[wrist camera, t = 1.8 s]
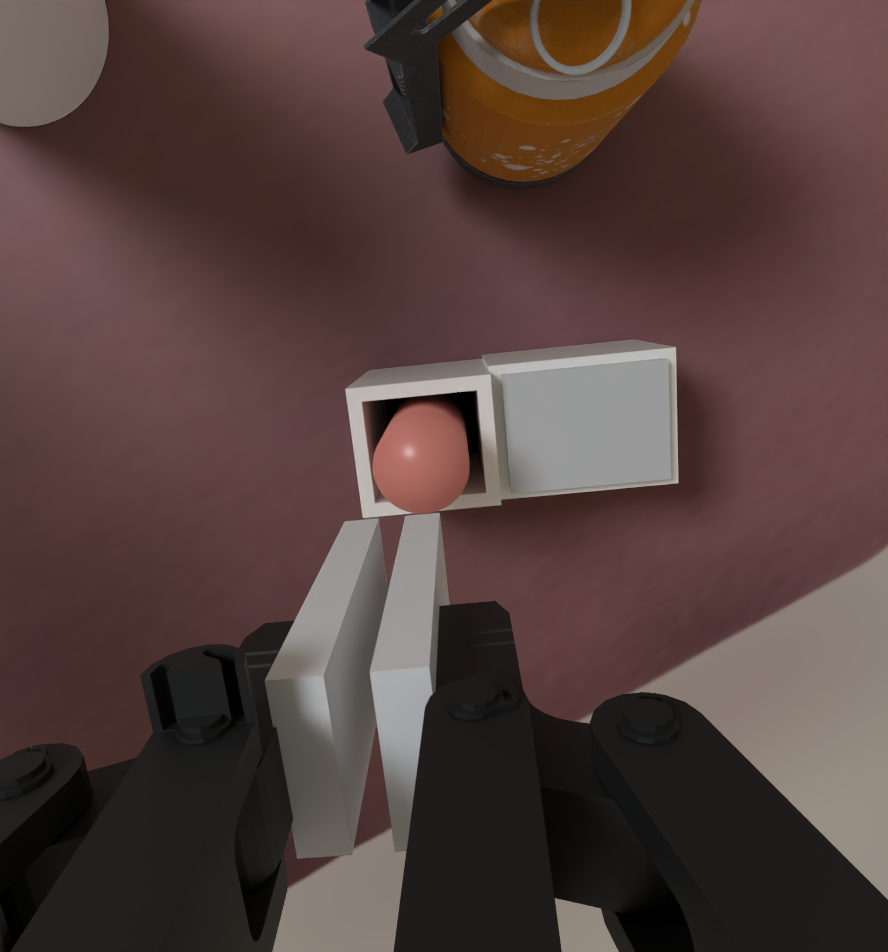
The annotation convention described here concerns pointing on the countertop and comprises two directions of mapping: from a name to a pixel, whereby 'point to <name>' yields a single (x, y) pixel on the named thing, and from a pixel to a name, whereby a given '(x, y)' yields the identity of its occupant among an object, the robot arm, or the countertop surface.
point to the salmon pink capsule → (423, 455)
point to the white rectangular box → (539, 420)
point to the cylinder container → (49, 57)
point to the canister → (521, 76)
